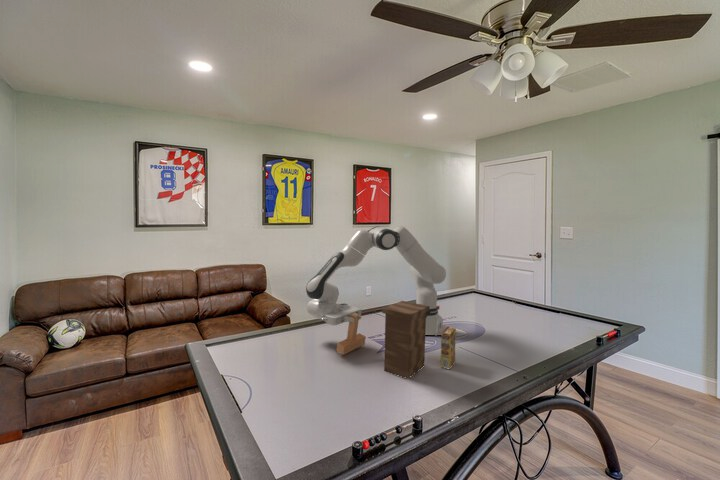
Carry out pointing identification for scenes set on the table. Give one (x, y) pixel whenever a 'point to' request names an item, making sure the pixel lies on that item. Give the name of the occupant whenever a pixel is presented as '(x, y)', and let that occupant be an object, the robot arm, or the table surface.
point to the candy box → (448, 347)
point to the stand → (404, 338)
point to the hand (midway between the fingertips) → (357, 318)
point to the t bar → (351, 337)
